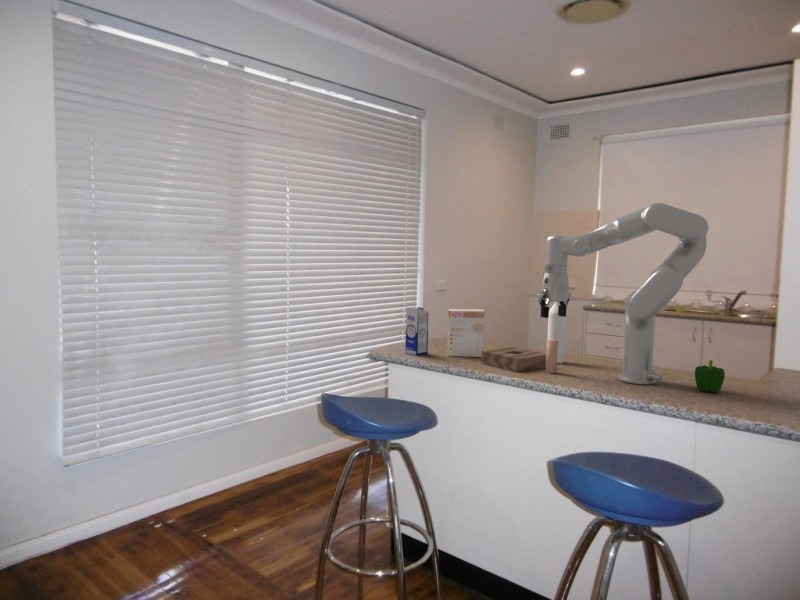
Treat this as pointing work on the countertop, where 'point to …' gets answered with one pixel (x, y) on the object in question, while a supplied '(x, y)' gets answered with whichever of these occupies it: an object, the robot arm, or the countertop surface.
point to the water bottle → (556, 330)
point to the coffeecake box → (465, 332)
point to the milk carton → (416, 331)
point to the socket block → (514, 359)
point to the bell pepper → (709, 378)
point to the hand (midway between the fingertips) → (553, 316)
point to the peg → (551, 356)
